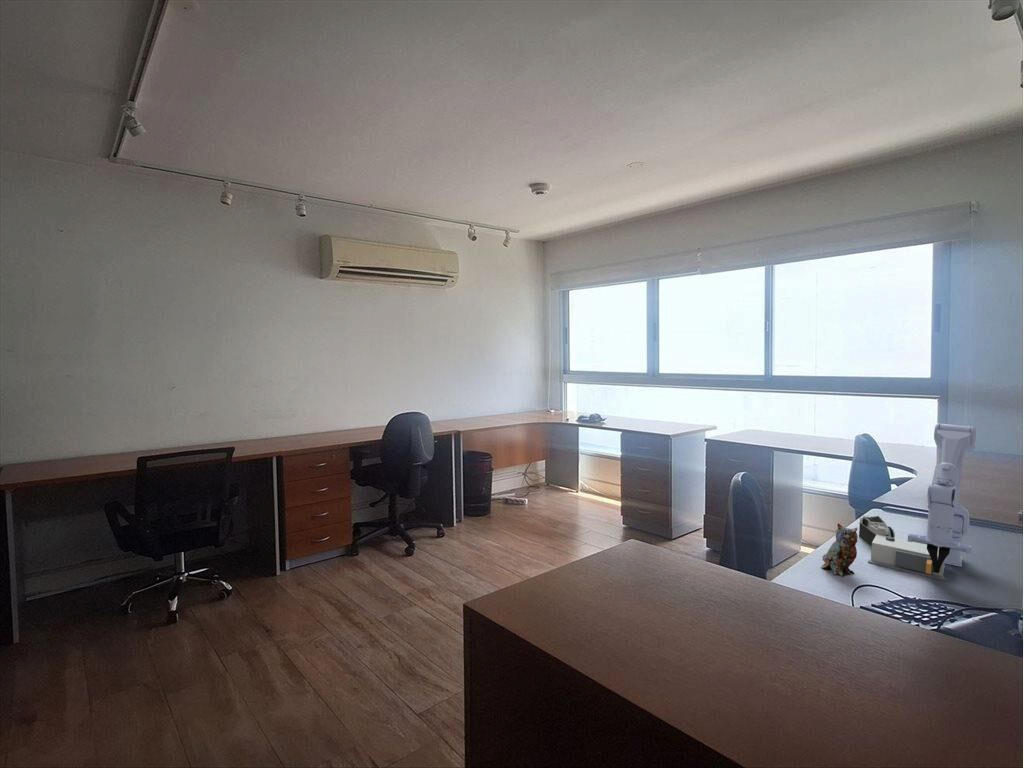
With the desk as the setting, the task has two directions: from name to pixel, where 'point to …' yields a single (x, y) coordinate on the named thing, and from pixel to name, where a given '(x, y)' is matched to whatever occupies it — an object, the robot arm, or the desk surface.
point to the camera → (873, 529)
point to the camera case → (887, 547)
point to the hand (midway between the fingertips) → (936, 570)
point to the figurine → (841, 552)
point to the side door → (914, 562)
